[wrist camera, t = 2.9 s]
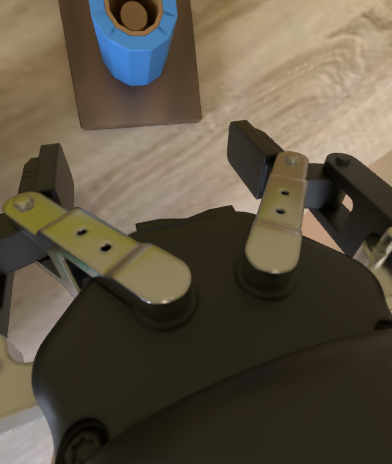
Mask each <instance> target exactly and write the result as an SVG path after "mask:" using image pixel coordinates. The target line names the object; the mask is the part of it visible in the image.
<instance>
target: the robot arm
mask: <svg viewBox="0 0 392 464" xmlns="http://www.w3.org/2000/svg"><path fill="white" fill-rule="evenodd" d="M227 157H228V161H229V163H230V164H231V166H232V167H233V168H234V170H235V171H236V173H237V174H238V175H239V177H240V178H241V179H242V181H243V182H244V183H245V185H246V186H247V187H248V189H249V190H250V192H251V193H252V194H253V196H254V197H255V198H256V199H261V198H262V200H261V203H260V206H259V209H258V212H257V215H255V214H252V213H247V212H239V211H235V210H234V208H233V206H232V205H229V206H224V207H219V208H214V209H209V210H207V211H204V212H202V213H199V214H197V215H194V216H192V217H189V218H183V219H157V220H152V221H147V222H142V223H137V224H136V230H137V231H135V232H133V233H131V234H129V235H126V234H124V233H123V232H121V231H119V230H118V229H116V228H114V227H113V226H111V225H109V224H107V223H106V222H104V221H102V220H101V219H99V218H97V217H96V216H94V215H92V214H90V213H89V212H87V211H85V210H84V209H82V208H80V207H75V208H74V183H73V178H72V175H71V172H70V169H69V166H68V163H67V161H66V158H65V155H64V152H63V149H62V147H61V145H60V143H55V144H47V145H41V148H40V153H39V157H37V158H31V159H30V160H29V161H28V162H27V163H26V164H25V165H24V169H23V174H22V179H21V182H20V186H19V190H18V195H15V196H13V197H11V198H10V199H8V200H7V201H6V202H5V203H4V205H3V208H2V209H3V212H4V213H2V214H0V436H2V435H5V434H7V433H10V432H13V431H15V430H18V429H20V428H23V427H26V426H28V425H31V424H33V423H36V422H39V421H41V420H44V419H47V422H48V425H49V427H50V430H51V434H52V438H53V443H54V451H55V464H392V314H391V312H390V310H392V187H391V186H390V185H388V184H387V183H386V182H385V181H383V180H382V179H381V178H380V177H379V176H377V175H376V174H375V173H373V172H372V171H371V170H370V169H369V168H367V167H366V166H365V165H364V164H362V163H361V162H360V161H359V160H357V159H356V158H354V157H353V156H350V155H348V154H343V153H332V154H329V155H328V156H327V157H326V160H325V163H324V164H317V163H309V160H308V158H307V157H306V156H304V155H302V154H300V153H297V152H292V151H286V152H285V151H284V150H283V149H282V148H281V147H280V146H279V145H278V144H276V143H275V142H274V141H273V140H272V139H271V138H270V137H269V136H268V135H267V134H266V133H265V132H263V131H261V130H258V129H255V128H254V127H253V126H252V125H251V124H250V123H249V122H248V121H247V120H241V121H233V122H231V123H230V126H229V135H228V146H227ZM346 194H347V195H348V196H349V197H350V198H351V199H352V202H353V209H352V211H351V212H350V211H349V210H348V209H347V208H346V207H345V206H344V205H343V204H342V201H343V199H344V197H345V195H346ZM304 208H309V210H310V212H311V213H312V214H313V215H314V217H315V218H316V219H317V220H318V221H319V222H320V224H321V225H322V226H323V227H324V229H325V230H326V231H327V233H328V234H329V235H330V236H331V237H332V239H333V240H334V241H335V242H336V244H337V245H338V246H339V247H340V248H341V250H342V251H343V252H344V253H345V254H343V253H341V252H338V251H336V250H334V249H332V248H330V247H328V246H325V245H323V244H321V243H319V242H317V241H314V240H312V239H310V238H307V237H305V236H303V235H302V231H301V227H302V220H303V213H304ZM34 262H35V263H36V264H37V265H38V266H39V267H41V268H42V269H43V270H44V271H46V272H47V273H48V274H49V275H51V276H52V277H53V278H54V279H56V280H57V281H58V282H59V283H61V284H62V285H63V286H64V287H65V288H66V289H67V290H68V291H69V293H70V294H71V295H72V296H73V297H74V298H75V299H74V300H73V301H72V303H71V304H70V305H69V307H68V308H67V310H66V311H65V312H64V314H63V315H62V316H61V318H60V319H59V320H58V322H57V323H56V324H55V326H54V327H53V328H52V330H51V331H50V332H49V334H48V335H47V336H46V338H45V339H44V341H43V342H42V344H41V345H40V347H39V349H38V351H37V354H36V356H35V359H34V361H33V362H27V363H24V360H23V356H22V353H21V352H20V351H19V350H18V349H17V348H16V347H15V346H14V345H13V344H12V343H11V342H10V341H9V340H8V339H7V333H8V324H9V314H10V305H11V295H12V286H13V277H14V271H16V270H18V269H21V268H23V267H25V266H27V265H30V264H32V263H34Z"/></svg>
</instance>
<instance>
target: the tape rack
mask: <svg viewBox="0 0 392 464" xmlns="http://www.w3.org/2000/svg"><path fill="white" fill-rule="evenodd" d="M58 1H59V6H60V12H61V18H62V23H63V29H64V35H65V40H66V46H67V52H68V57H69V63H70V69H71V74H72V80H73V85H74V91H75V97H76V102H77V108H78V114H79V119H80V125H81V128H82V129H83V130H84V131H85V130H99V129H112V128H126V127H140V126H154V125H168V124H182V123H196V122H199V121H200V120H202V116H201V106H200V95H199V85H198V75H197V64H196V54H195V44H194V33H193V23H192V13H191V3H190V0H176V6H177V15H178V17H177V21H176V25H175V29H174V32H173V36H172V40H171V44H170V48H169V52H168V56H167V60H166V62H165V65H164V67H163V70H162V72H161V75H160V76H159V77H158V78H156V79H155V80H154V81H152V82H151V83H149V84H148V85H138V86H130V85H128V84H126V83H124V82H122V81H120V80H118V79H116V78H115V77H114V76H113V75H112V74H111V72H110V71H109V69H108V68H107V67H106V65H105V64H104V62H103V59H102V55H101V52H100V48H99V44H98V40H97V36H96V32H95V28H94V25H93V21H92V17H91V11H90V5H89V0H58ZM120 17H121V25H122V26H123V27H125V28H127V29H129V30H130V31H145V30H146V29H147V20H148V17H147V12H146V10H145V9H144V7H143V6H142V5H141V4H139V3H138V2H135V1H129V2H127V3H125V4H124V5H123V6H122V8H121V12H120Z"/></svg>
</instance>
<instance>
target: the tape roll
mask: <svg viewBox="0 0 392 464" xmlns="http://www.w3.org/2000/svg"><path fill="white" fill-rule="evenodd" d="M129 1H135V2H138V3H139V4H141V5H142V6H143V7H144V9H145V10H146V12H147V17H148V20H147V29H146V30H145V31H130V30H129V29H127V28H125V27H123V26H122V25H121V17H120V12H121V8H122V6H123V5H124V4H125V3H127V2H129ZM89 5H90V11H91V17H92V21H93V25H94V28H95V32H96V36H97V40H98V44H99V48H100V52H101V55H102V59H103V62H104V64H105V65H106V67H107V68H108V69H109V71H110V72H111V74H112V75H113V76H114V77H115V78H116V79H118V80H120V81H122V82H124V83H126V84H128V85H130V86H138V85H148V84H149V83H151V82H152V81H154V80H155V79H156V78H158V77H159V76H160V75H161V72H162V70H163V67H164V65H165V62H166V60H167V56H168V52H169V48H170V44H171V40H172V36H173V32H174V29H175V25H176V21H177V17H178V15H177V6H176V0H89Z"/></svg>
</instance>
